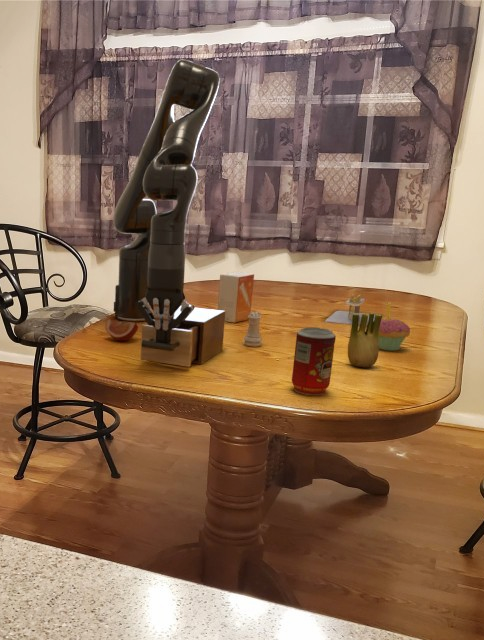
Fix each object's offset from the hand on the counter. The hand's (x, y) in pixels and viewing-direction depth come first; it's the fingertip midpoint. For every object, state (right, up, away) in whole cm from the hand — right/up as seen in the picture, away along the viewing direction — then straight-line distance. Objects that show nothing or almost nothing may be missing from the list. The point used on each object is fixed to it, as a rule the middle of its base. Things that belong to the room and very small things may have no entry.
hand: (162, 346), depth 147 cm
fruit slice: (-7, +3, +27) cm, 28 cm away
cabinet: (+8, -1, +14) cm, 16 cm away
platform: (+63, +11, +52) cm, 82 cm away
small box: (+27, +10, +50) cm, 58 cm away
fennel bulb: (+44, -4, +5) cm, 45 cm away
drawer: (+3, -2, +7) cm, 8 cm away
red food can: (+27, -10, -12) cm, 31 cm away
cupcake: (+57, 0, +19) cm, 61 cm away
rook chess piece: (+25, +1, +22) cm, 34 cm away
